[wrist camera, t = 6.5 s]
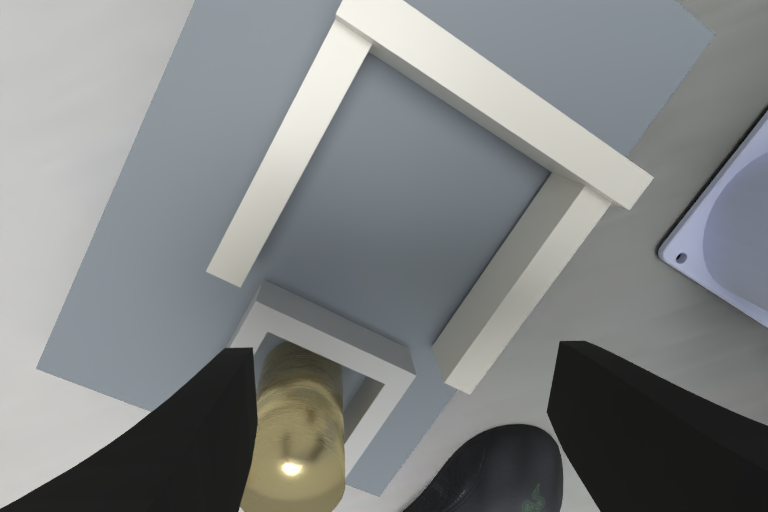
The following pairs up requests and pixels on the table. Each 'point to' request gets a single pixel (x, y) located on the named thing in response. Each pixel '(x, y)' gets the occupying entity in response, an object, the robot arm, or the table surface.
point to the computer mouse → (498, 475)
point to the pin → (297, 434)
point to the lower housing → (488, 109)
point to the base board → (341, 202)
